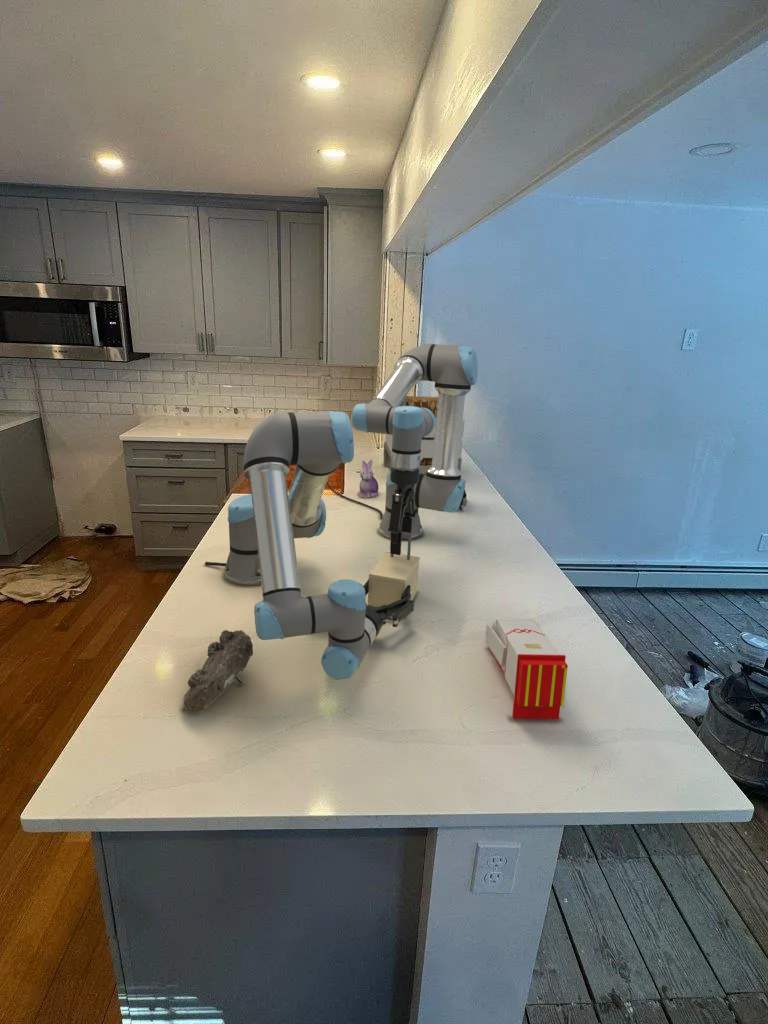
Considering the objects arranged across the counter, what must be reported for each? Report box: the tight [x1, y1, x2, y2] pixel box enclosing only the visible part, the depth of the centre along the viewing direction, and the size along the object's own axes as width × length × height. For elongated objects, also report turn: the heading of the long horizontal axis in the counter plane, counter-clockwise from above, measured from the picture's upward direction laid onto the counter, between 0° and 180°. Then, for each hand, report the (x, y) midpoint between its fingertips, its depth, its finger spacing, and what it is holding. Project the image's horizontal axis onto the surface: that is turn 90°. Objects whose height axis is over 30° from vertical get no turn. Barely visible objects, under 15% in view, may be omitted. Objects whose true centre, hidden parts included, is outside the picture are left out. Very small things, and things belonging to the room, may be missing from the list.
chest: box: [367, 561, 420, 607], centre depth 152 cm, size 15×10×10 cm
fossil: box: [182, 629, 254, 712], centre depth 117 cm, size 22×10×15 cm
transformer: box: [383, 394, 465, 473], centre depth 268 cm, size 34×33×41 cm
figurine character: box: [459, 489, 468, 511], centre depth 230 cm, size 7×8×15 cm
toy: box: [484, 617, 569, 720], centre depth 122 cm, size 12×13×30 cm
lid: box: [368, 532, 421, 583], centre depth 150 cm, size 15×10×9 cm, turn 163°
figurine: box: [358, 459, 380, 499], centre depth 237 cm, size 9×10×15 cm
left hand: (389, 586), depth 148 cm, fingers closed on chest, 10 cm apart
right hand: (400, 546), depth 154 cm, fingers open, 10 cm apart
